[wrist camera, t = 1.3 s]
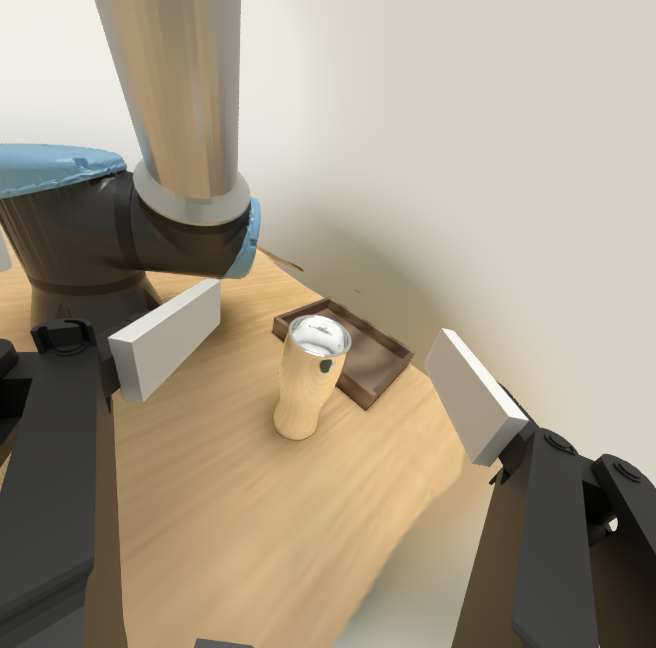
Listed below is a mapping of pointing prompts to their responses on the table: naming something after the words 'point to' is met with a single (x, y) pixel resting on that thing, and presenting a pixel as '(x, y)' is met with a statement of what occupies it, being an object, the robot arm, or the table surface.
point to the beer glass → (309, 373)
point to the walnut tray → (357, 350)
